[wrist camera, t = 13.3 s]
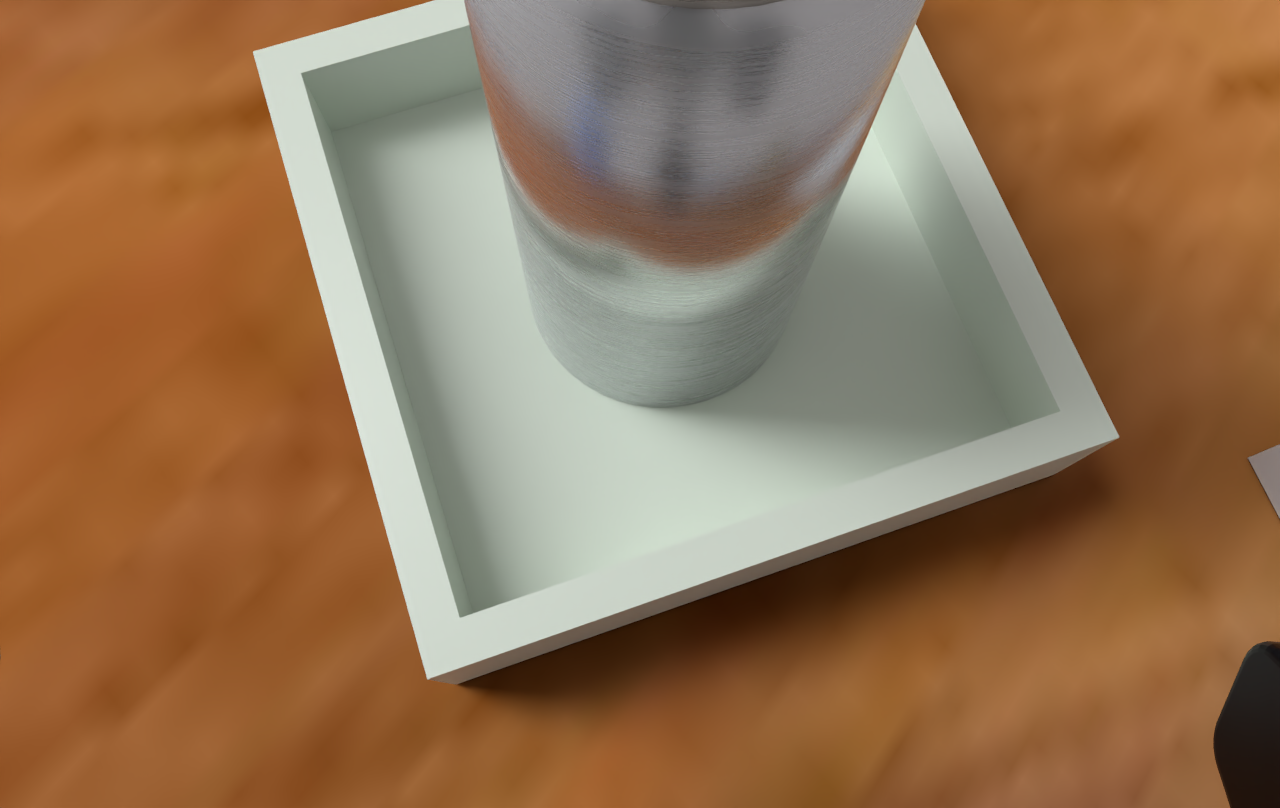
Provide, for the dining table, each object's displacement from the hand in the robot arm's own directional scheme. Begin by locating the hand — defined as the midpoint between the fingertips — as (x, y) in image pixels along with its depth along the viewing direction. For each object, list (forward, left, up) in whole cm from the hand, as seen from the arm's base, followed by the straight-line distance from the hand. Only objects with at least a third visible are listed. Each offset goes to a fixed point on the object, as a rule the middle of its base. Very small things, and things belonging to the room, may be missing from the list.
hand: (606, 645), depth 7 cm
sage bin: (+8, -3, -14) cm, 16 cm away
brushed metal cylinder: (+8, -3, -13) cm, 15 cm away
